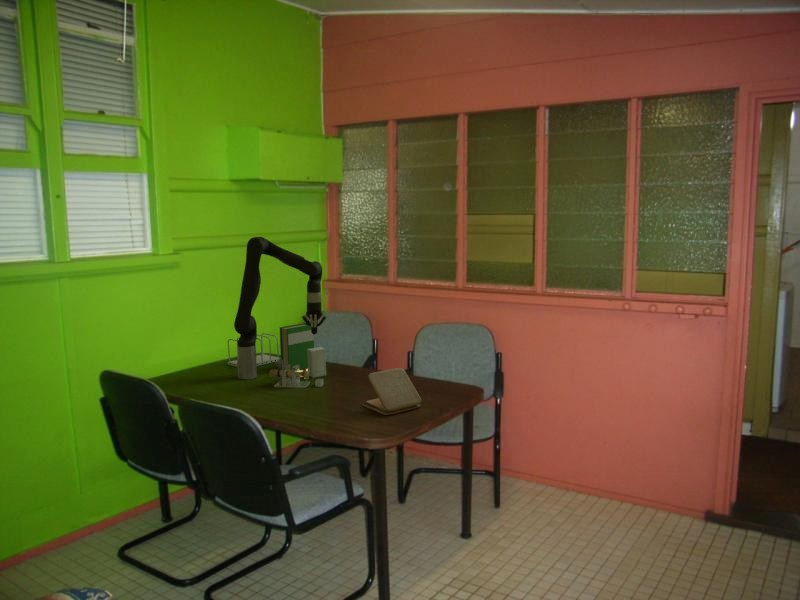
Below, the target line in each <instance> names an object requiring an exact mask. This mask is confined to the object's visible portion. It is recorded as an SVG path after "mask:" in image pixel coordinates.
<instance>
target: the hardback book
mask: <svg viewBox="0 0 800 600" xmlns="http://www.w3.org/2000/svg"><path fill="white" fill-rule="evenodd" d="M314 335H315V334H312V333H311V326H308V325H307V324H306V322H303V323H297V324H292V325H285V326H281V327H280V326H279V343H280V345H279V347H280V358H281V359H283V367H284V366H285V365H286V364H290V370H291V368H292V367H293V366H295V365H300V370H305V368H308V356H307V349H311V348H315V336H314Z"/></svg>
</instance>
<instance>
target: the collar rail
mask: <svg viewBox="0 0 800 600" xmlns="http://www.w3.org/2000/svg"><path fill="white" fill-rule="evenodd" d="M274 363H275V366H277V370H278V369H279V370H282V377H278V382H277V383H275V384H274V385H273V386H274V388H289V389H291V388H293V389H296V388H297V389H299V388H301V389H305V388H306V387H308V386H309V385H310V384H311V381H307V380H303V381H302V380H301V377H296V370H300V365H295V366H293V367H292V368H291V371H292V377H287V374H286V370H290V364H286V365H285V366H284V367H283V359H279V360H278V361H276V362H274ZM323 386H324V378H317V379H316V380H315V381H314V387H315V388H321V387H323ZM306 389H307V388H306Z"/></svg>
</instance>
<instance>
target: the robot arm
mask: <svg viewBox="0 0 800 600" xmlns="http://www.w3.org/2000/svg"><path fill="white" fill-rule="evenodd" d="M245 251H246V253H245V254H246V255H245V265H244V270H243V277H242V282H241V288H240V295H239V301H238V308H237V312H236V316H235V319H234V324H233V325H234V326H233V327H234V330H235V332H236V333H237V334H239V337H240V338H239V337H238V338H239V339H238V356H237V360H238V361H237V367H236V368H237V379H240V380H253V379H256V378H257V377H258V371H257V370H258V368H257V367H258V366H257V364H256V356H257V348H256V347H257V346H256V344H257V343H256V341H257V340H258V339H257V338H258V336H257V335H258V333H257V332H258V330H257V327H258V326H257V320H256V318H255V317H254V316H253V315H252V310H253V307H254V304H255V303H256V300H257V299H258V298H259V297H258V296H259V294H260V288H261V282H262V280H261V272H260V262H261V258H262V255H265V256H270V257H272V258H275V259H276V260H278V261H280V262H281V263H283V264H284V265H286V266H288V267H290V268H293V269H296V270H298V271H300V272H301V273H303V274H304V275H307V276H309V277H308V281H307V282H306V311H305V315H302V317H301V318H302V320H303V321H304V323H306V324H307V325H308V326H311V333H312V334H314V335H316V334H318V328H319V327H320V326H322V324H323V323H324V322H325V321H326V319H327V316H325V315H324V314H323V311H322V310H323V309H322V307H323V305H322V304H323V303H322V300H323V299H322V286H321V285H322V284H321V283H322V277H323V266H322V264H321V263H320V262H319V261H315V260H314V261H309V260H307V259H305V257H304V256H302V255H300V254H297V253H294V252H293V251H289V250H287V249H285V248H283V247H281V246H278V244H275V243H273V242H272V241H270V240H268V239H267V238H265V237H263V236H253V237H251V238H250V239H249V240H248V241H247V244H246V250H245ZM320 319H321V320H320ZM319 320H320V321H319Z"/></svg>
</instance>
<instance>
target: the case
mask: <svg viewBox="0 0 800 600" xmlns="http://www.w3.org/2000/svg"><path fill="white" fill-rule="evenodd" d="M367 375H368V376H367V378H368V380H369V382H370V385H371V386H372V387H373V388H372V389H373V390H374V392H375V394H376V396H377V398H374V399H370V400H366V401H364V402H362V406H363V407H364V408H367V409H369V410H372V411H374V412H376V413H378V414H380V415H384V416H391V415H395V414H399V413H402V412H408V411H411V410H415V409H420V408H421V403H422V398H421V396H420V395H419V393H418V391H417V389H416V387H415V386H414V384H413V382H412V380H411V379H410V377H409V375H408V373H407V372H406V371H405V369H404V368H402V367H395V368H389V369H383V370H379V371H375V372H373V371H372V372H371V373H369V374H367Z"/></svg>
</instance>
